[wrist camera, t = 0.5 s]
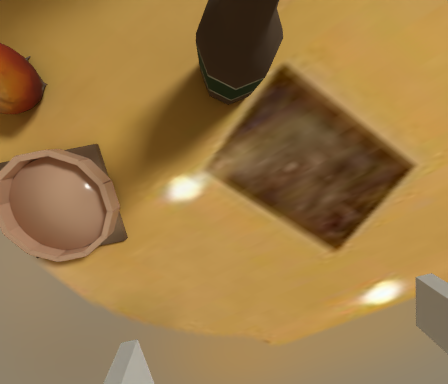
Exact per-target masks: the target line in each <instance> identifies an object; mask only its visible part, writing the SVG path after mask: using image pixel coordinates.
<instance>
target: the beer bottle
mask: <svg viewBox="0 0 448 384" xmlns="http://www.w3.org/2000/svg"><path fill="white" fill-rule="evenodd" d="M278 2H279V0H208V3H207V5H206V8H205V11H204V13H203V16H202V19H201V21H200V24H199V27H198V29H197V32H196V46H197V52H198V58H199V65H200V71H201V74H202V76H203V79H204V82H205V85H206V87H207V90H208V93H209V95H210V96H211V97H213V98H216V99H218V100H220V101H222V102H224V103H226V104H228V105H229V104H231V103H234V102H236V101H239V100H241V99H244V98H246V97H248V96H249V95H250V94H251V93H252V92H253V91H254V90H255V88H256V87H257V86H258V85H259V84H260V83H261V81H262V80H263V79H264V78H265V76H266V74H267V72H268V71H269V68H270V66H271V64H272V62H273V59H274V57H275V55H276V53H277V50H278V48H279V46H280V44H281V41H282V39H283V31H282V26H281V22H280V19H279V15H278V11H277V5H278Z"/></svg>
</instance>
